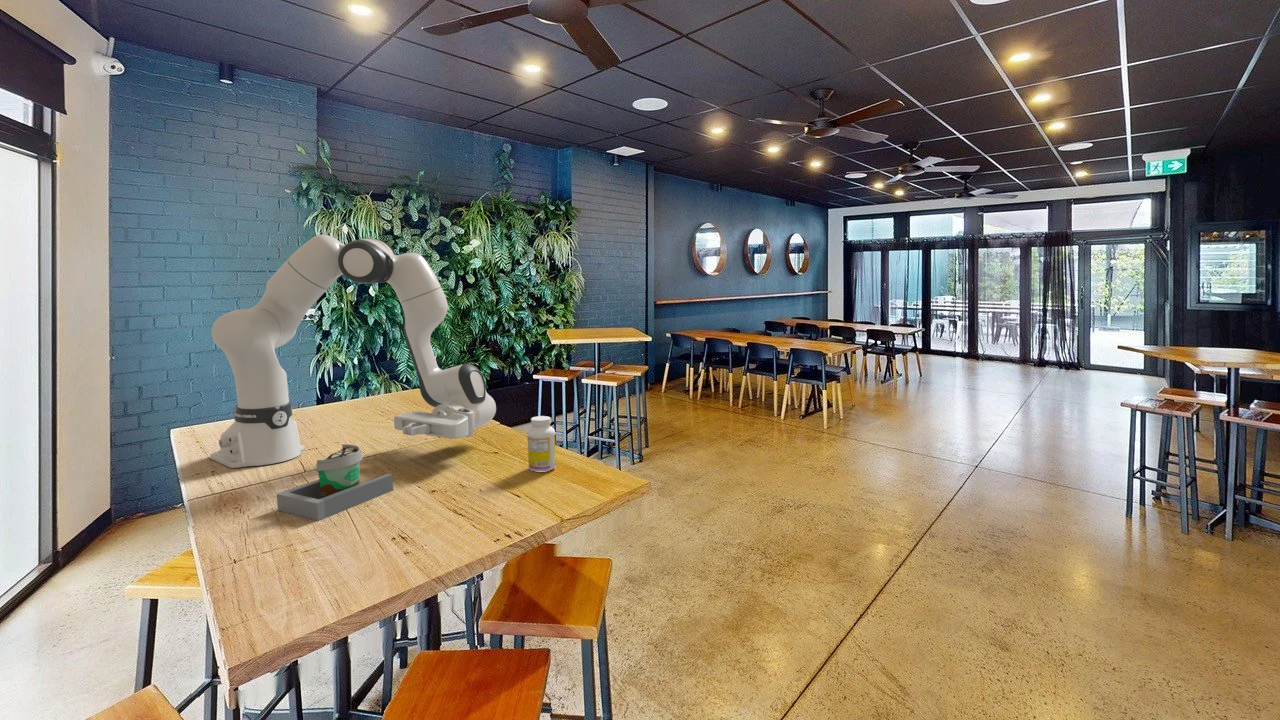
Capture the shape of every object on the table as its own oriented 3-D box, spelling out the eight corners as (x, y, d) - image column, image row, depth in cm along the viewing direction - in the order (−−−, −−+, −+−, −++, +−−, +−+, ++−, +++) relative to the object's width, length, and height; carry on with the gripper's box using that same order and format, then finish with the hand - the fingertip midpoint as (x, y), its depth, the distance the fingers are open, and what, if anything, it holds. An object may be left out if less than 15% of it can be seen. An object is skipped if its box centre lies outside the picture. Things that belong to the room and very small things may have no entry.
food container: (350, 507, 117) (346, 460, 116) (319, 508, 117) (315, 461, 116) (374, 486, 129) (371, 443, 128) (346, 486, 129) (343, 443, 128)
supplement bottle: (542, 463, 146) (541, 413, 144) (561, 468, 142) (560, 417, 140) (522, 470, 140) (521, 418, 139) (542, 475, 136) (540, 422, 135)
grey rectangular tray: (277, 510, 116) (276, 493, 115) (354, 482, 132) (353, 467, 132) (318, 520, 111) (317, 503, 110) (393, 489, 127) (392, 474, 127)
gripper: (418, 403, 155) (375, 413, 143) (478, 412, 147) (438, 424, 134) (418, 426, 156) (376, 438, 144) (478, 436, 148) (439, 450, 135)
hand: (407, 431), depth 139 cm, fingers closed
